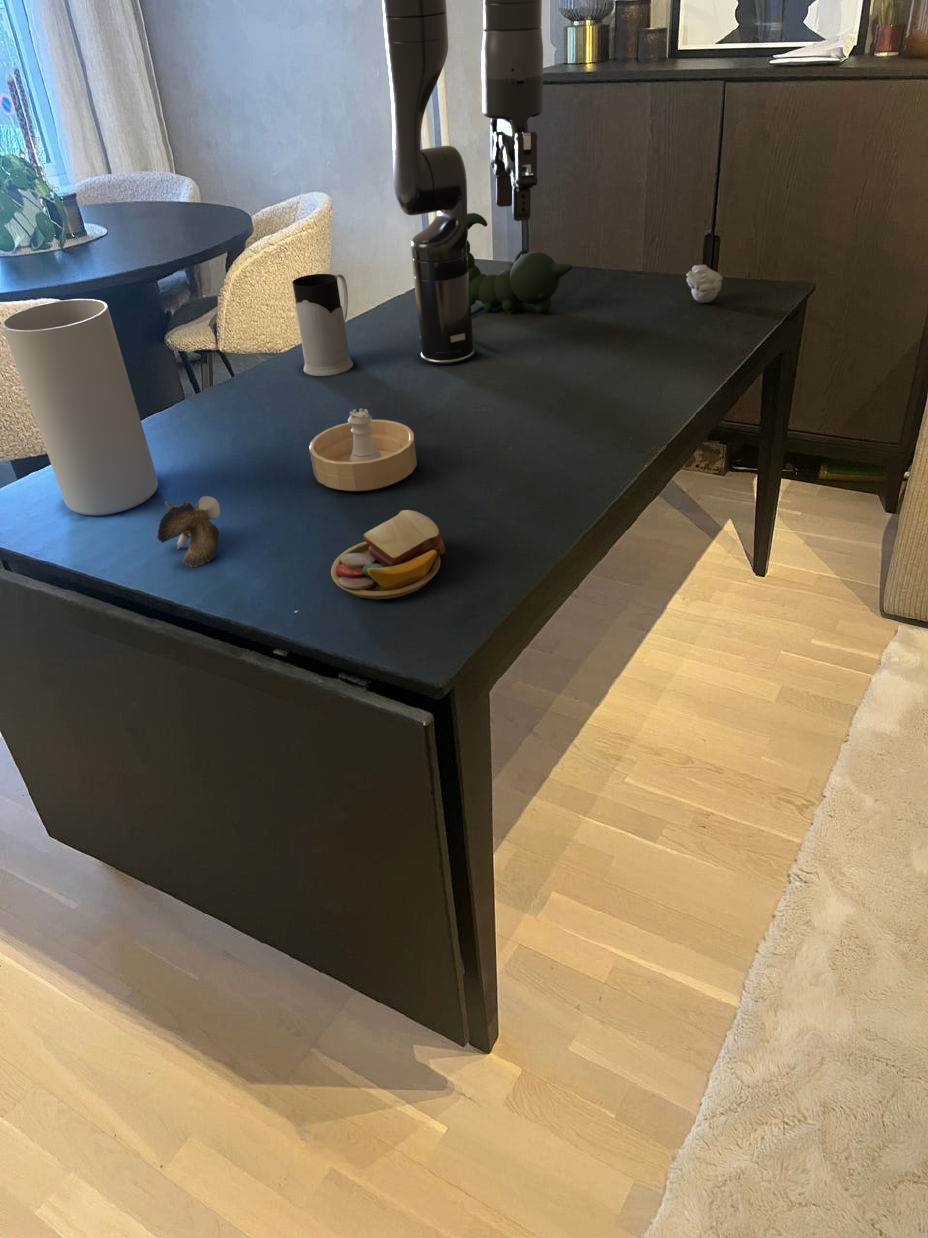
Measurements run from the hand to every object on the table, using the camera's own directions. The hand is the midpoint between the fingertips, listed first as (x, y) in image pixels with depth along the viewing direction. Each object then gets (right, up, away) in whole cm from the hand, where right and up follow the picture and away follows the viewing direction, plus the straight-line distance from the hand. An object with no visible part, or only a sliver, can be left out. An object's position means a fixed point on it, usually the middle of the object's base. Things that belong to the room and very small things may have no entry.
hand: (512, 212), depth 125 cm
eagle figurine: (-40, -45, -8) cm, 61 cm away
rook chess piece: (-20, -33, +6) cm, 39 cm away
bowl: (-20, -33, +6) cm, 39 cm away
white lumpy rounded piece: (+39, +7, +56) cm, 68 cm away
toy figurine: (+3, +7, +61) cm, 61 cm away
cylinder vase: (-55, -37, +5) cm, 66 cm away
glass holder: (-29, -8, +44) cm, 53 cm away
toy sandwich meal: (-15, -48, -16) cm, 53 cm away
